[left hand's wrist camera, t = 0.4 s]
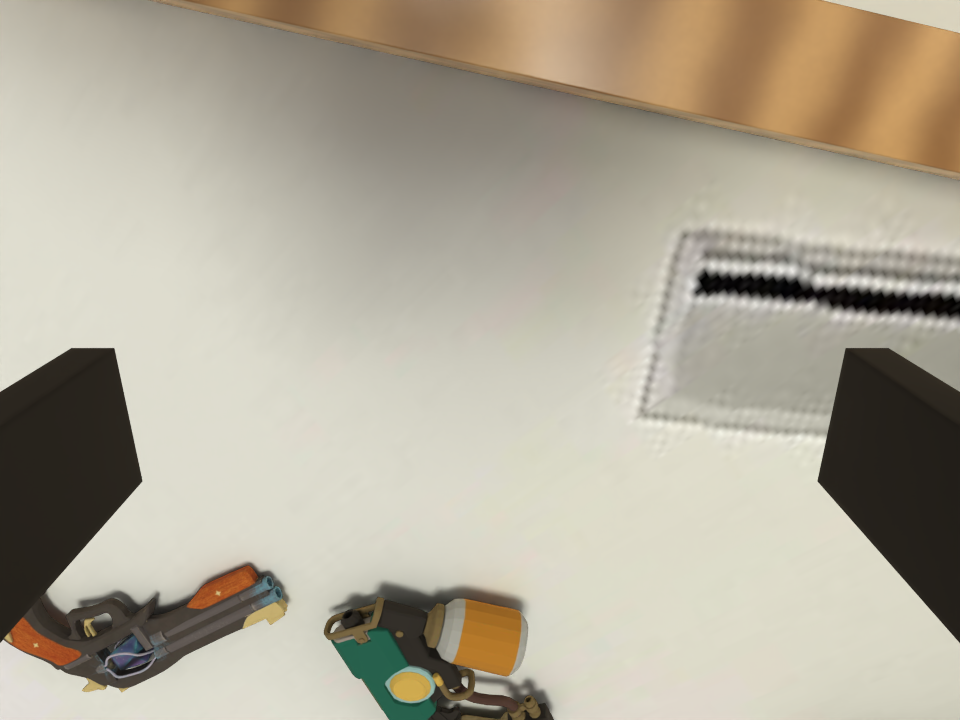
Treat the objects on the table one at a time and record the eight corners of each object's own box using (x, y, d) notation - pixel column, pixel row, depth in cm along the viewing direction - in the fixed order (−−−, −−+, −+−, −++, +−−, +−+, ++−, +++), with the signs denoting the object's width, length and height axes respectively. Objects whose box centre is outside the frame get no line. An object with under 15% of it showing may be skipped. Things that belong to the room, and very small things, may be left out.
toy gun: (-37, 624, 45) (52, 736, 47) (204, 502, 43) (286, 624, 45) (-9, 600, 47) (75, 707, 49) (220, 484, 45) (297, 600, 47)
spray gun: (555, 734, 53) (367, 741, 54) (542, 570, 46) (326, 582, 47) (559, 789, 49) (357, 796, 50) (546, 619, 42) (311, 631, 43)
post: (-56, -45, 33) (-223, -90, 25) (-65, -167, 31) (-248, -256, 23) (1256, 245, 38) (1457, 283, 30) (1313, 156, 36) (1541, 171, 28)
